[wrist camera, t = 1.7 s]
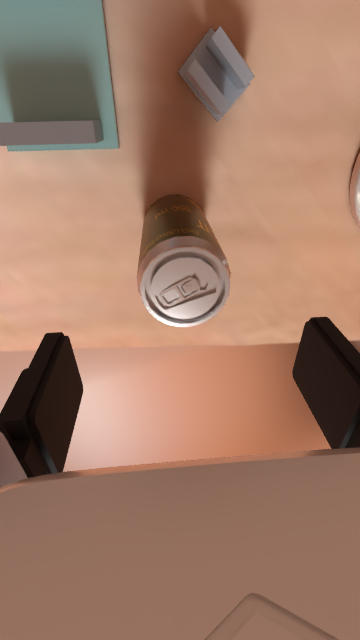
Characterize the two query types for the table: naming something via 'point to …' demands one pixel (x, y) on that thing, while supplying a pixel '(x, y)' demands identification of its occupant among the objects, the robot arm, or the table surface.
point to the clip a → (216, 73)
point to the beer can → (181, 264)
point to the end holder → (55, 76)
